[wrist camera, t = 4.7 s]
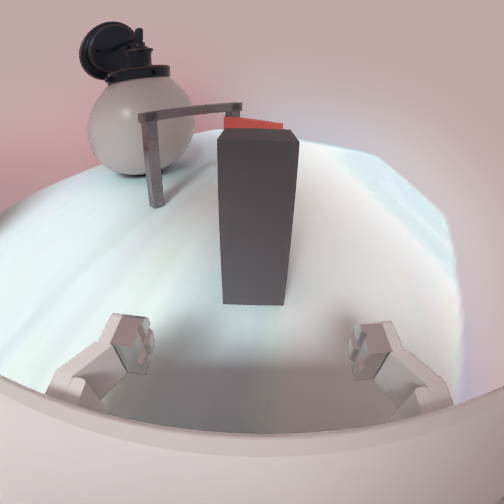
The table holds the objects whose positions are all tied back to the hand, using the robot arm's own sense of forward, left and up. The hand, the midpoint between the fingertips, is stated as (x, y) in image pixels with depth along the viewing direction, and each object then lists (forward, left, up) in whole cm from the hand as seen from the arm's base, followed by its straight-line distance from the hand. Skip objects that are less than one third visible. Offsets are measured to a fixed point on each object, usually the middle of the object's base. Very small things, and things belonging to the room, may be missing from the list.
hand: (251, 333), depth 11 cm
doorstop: (-5, +9, -7) cm, 13 cm away
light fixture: (-40, +26, -7) cm, 49 cm away
